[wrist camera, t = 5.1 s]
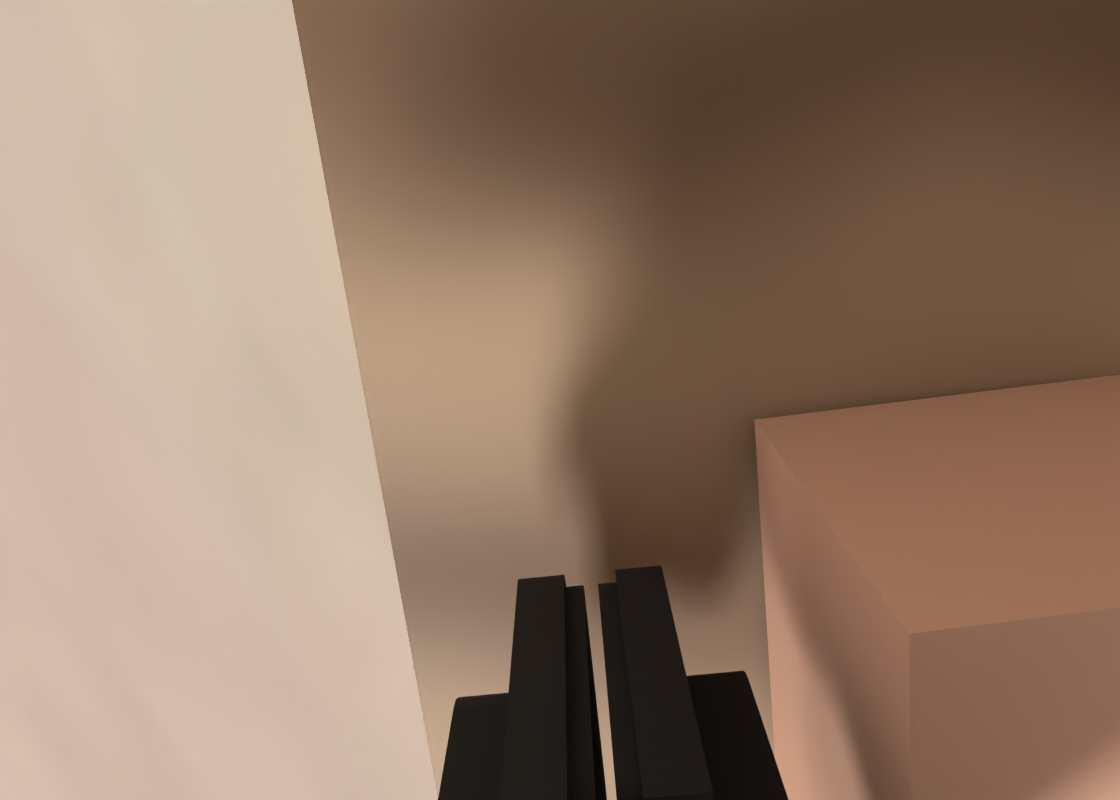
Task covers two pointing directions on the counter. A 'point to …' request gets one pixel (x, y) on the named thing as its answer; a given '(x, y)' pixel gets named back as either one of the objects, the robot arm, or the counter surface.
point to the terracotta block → (946, 595)
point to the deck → (687, 272)
